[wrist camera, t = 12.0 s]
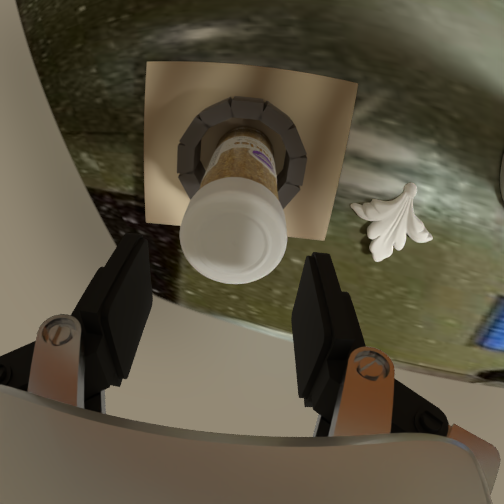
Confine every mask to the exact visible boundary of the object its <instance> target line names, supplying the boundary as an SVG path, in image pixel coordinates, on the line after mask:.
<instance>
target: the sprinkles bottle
mask: <svg viewBox="0 0 504 504" xmlns="http://www.w3.org/2000/svg"><path fill="white" fill-rule="evenodd" d="M180 244H181V247H182V250H183V253H184V255H185V257H186V258H187V260H188V261H189V263H190V264H191V265H192V266H193V267H194V268H195V269H196V270H197V271H198V272H199V273H201V274H202V275H204V276H206V277H208V278H210V279H212V280H215V281H218V282H222V283H227V284H243V283H249V282H253V281H255V280H258V279H260V278H262V277H264V276H266V275H267V274H269V273H270V272H271V271H272V270H273V269H274V268H275V267H276V266H277V265H278V264H279V262H280V261H281V259H282V257H283V255H284V253H285V249H286V245H287V228H286V220H285V214H284V211H283V208H282V206H281V204H280V202H279V198H278V192H277V175H276V169H275V162H274V150H273V146H272V144H271V142H270V140H269V139H268V137H267V136H266V135H265V134H264V133H263V132H262V131H260V130H257V129H255V128H252V127H237V128H234V129H232V130H230V131H228V132H226V133H225V134H224V135H223V136H222V137H221V138H220V140H219V142H218V144H217V146H216V150H215V152H214V154H213V156H212V159H211V161H210V163H209V166H208V168H207V170H206V172H205V175H204V177H203V179H202V182H201V185H200V189H199V190H198V191H197V193H196V194H195V195H194V196H193V197H192V199H191V200H190V202H189V205H188V207H187V209H186V212H185V214H184V217H183V220H182V223H181V227H180Z"/></svg>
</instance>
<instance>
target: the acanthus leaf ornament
mask: <svg viewBox="0 0 504 504" xmlns="http://www.w3.org/2000/svg"><path fill="white" fill-rule="evenodd" d="M416 193H417V186H416V185H415V184H414V183H408V184H406V185H405V187H404V192H403V193H402V194H401V195H400V196H399V197H397V198H396V199H394V200H392V201H382V200H378V199H372V201H371V203H363V205H361V204H357V203H352V204H351V205H350V206H351V208H352V209H353V210H354V211H355V212H356V213H357V215H358V216H359V217H360V218H362V219H365V220H368V221H373V222H372V223H371V224H370V225H369V226H368V228H367V236H368V237H369V238H370V239H372V241H371V243H370V246H369V249H370V251H371V252H372V257H373V259H374V261H376V262H379V261H381V260H383V259H384V258H387V257H389V256H390V255H391V254H392V251H393V245H394V247H395V249H396V250H401V249H402V248H403V247H404V244H405V241H406V233H407V234H408V236H409V237H410V238H411V239H413V240H414V241H416V242H418V243H424V242H427V241H430V240H432V239H433V237H432V235H431V234H430V233H428V231H427V229H426V228H425V227H424V224H423V222H422V221H421V220H420V219H419V218H417V217H416V216H415V214H414V210H413V198H414V196H415V195H416Z"/></svg>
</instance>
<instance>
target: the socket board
mask: <svg viewBox="0 0 504 504" xmlns="http://www.w3.org/2000/svg"><path fill="white" fill-rule="evenodd" d="M357 88H358V83H354V82H350V81H345V80H341V79H336V78H331V77H326V76H321V75H316V74H310V73H304V72H298V71H292V70H285V69H278V68H270V67H261V66H252V65H242V64H230V63H214V62H189V61H152V62H147V68H146V85H145V110H144V187H145V213H146V222H147V223H158V224H169V225H179V226H181V223H182V220H183V217H184V214H185V212H186V209H187V207H188V205H189V202H190V200H191V199H192V197H193V196H194V195H195V194H196V193H197V191H198V190H199V189H200V185H201V182H202V179H203V177H204V175H205V172H206V170H207V168H208V166H209V163H210V161H211V159H212V156H213V154H214V152H215V150H216V146H217V144H218V142H219V140H220V138H221V137H222V136H223V135H224V134H225V133H226V132H228V131H230V130H232V129H234V128H237V127H252V128H255V129H257V130H260V131H262V132H263V133H264V134H265V135H266V136H267V137H268V139H269V140H270V142H271V144H272V146H273V150H274V162H275V169H276V175H277V192H278V198H279V202H280V204H281V206H282V208H283V211H284V214H285V220H286V228H287V237H296V238H305V239H314V240H323V241H324V240H325V236H326V232H327V228H328V224H329V220H330V216H331V212H332V208H333V204H334V200H335V195H336V191H337V187H338V182H339V178H340V174H341V169H342V164H343V160H344V155H345V150H346V146H347V141H348V136H349V131H350V126H351V121H352V116H353V110H354V105H355V99H356V94H357Z"/></svg>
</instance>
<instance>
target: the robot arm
mask: <svg viewBox="0 0 504 504" xmlns="http://www.w3.org/2000/svg"><path fill="white" fill-rule="evenodd" d="M500 189H501V194H502V198H503V201H504V155H503V159H502V164H501V171H500ZM152 299H153V297H152V287H151V277H150V266H149V253H148V241H147V239H143V237H142V235H141V234H131V233H126V234H125V235H124V237H123V238H122V240H121V241H120V243H119V244H118V246H117V247H116V249H115V251H114V252H113V254H112V255H111V257H110V259H109V260H108V262H107V263H106V265H105V267H100V268H99V269H98V271H97V272H96V274H95V275H94V277H93V279H92V280H91V282H90V284H89V285H88V287H87V289H86V290H85V292H84V294H83V295H82V297H81V299H80V300H79V302H78V304H77V305H76V307H75V309H74V311H73V312H72V314H71V315H65V314H60V315H55V316H52V317H50V318H48V319H47V320H46V321H44V322H43V323H42V325H41V326H40V327H39V330H38V332H37V337H36V341H34V342H32V343H30V344H28V345H25V346H23V347H21V348H18V349H16V350H14V351H11V352H9V353H7V354H5V355H2V356H0V504H492V500H491V496H490V495H491V492H492V489H493V486H494V483H495V480H496V476H497V473H498V470H499V466H500V455H499V452H498V450H497V449H496V447H494V446H493V445H492V444H490V443H488V442H486V441H485V440H483V439H481V438H479V437H477V436H476V435H474V434H472V433H470V432H468V431H466V430H465V429H463V428H461V427H459V426H458V425H456V424H453V425H452V426H450V425H449V423H448V420H447V417H446V416H445V414H444V413H443V412H442V411H441V410H440V409H439V408H438V407H436V406H435V405H433V404H432V403H430V402H429V401H427V400H426V399H424V398H423V397H421V396H420V395H418V394H417V393H415V392H414V391H412V390H411V389H409V388H408V387H406V386H405V385H403V384H402V383H400V382H399V381H397V380H396V379H395V378H394V374H395V373H394V371H395V370H394V364H393V362H392V360H391V359H390V358H389V357H388V355H387V354H385V353H384V352H383V351H381V350H379V349H376V348H374V347H366V346H365V342H364V339H363V336H362V332H361V329H360V326H359V322H358V319H357V316H356V313H355V310H354V306H353V303H352V300H351V297H350V295H349V293H348V292H341V289H340V285H339V282H338V279H337V276H336V272H335V269H334V266H333V263H332V260H331V257H330V254H327V253H317V252H313V254H312V256H307V257H306V260H305V264H304V268H303V272H302V276H301V280H300V284H299V288H298V292H297V296H296V300H295V304H294V308H293V312H292V331H293V341H294V351H295V361H296V373H297V384H298V395H299V398H304V404H305V407H313V410H315V411H316V412H317V413H318V414H319V415H318V419H317V423H316V426H315V430H314V434H313V437H269V436H250V435H234V434H222V433H213V432H204V431H195V430H188V429H180V428H174V427H168V426H161V425H156V424H150V423H145V422H139V421H134V420H129V419H125V418H120V417H116V416H111V415H107V414H106V409H105V389H107V388H109V387H110V385H113V386H118V387H120V385H121V382H122V379H127V377H128V375H129V372H130V369H131V366H132V363H133V360H134V357H135V353H136V351H137V347H138V345H139V341H140V339H141V336H142V333H143V330H144V327H145V324H146V321H147V319H148V316H149V313H150V310H151V307H152V301H153V300H152Z"/></svg>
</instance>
